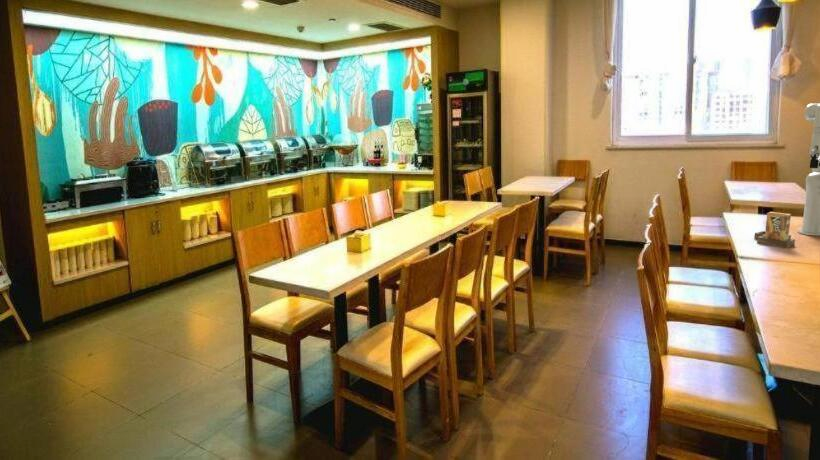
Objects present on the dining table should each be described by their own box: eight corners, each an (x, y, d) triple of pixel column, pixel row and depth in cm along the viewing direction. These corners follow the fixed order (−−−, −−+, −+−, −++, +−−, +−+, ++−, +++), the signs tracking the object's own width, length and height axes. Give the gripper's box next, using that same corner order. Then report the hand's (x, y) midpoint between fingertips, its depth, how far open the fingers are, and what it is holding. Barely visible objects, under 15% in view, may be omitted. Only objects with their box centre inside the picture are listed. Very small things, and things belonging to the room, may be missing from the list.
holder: (762, 236, 282) (762, 230, 282) (801, 243, 268) (802, 237, 267) (746, 241, 274) (746, 235, 273) (786, 248, 259) (787, 242, 258)
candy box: (787, 245, 264) (791, 213, 261) (783, 246, 262) (787, 215, 259) (767, 242, 271) (771, 211, 268) (763, 243, 269) (767, 212, 266)
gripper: (821, 129, 267) (817, 165, 270) (805, 131, 258) (801, 168, 261) (840, 130, 261) (835, 166, 264) (824, 131, 251) (819, 169, 255)
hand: (818, 167), depth 263 cm, fingers open, 9 cm apart
